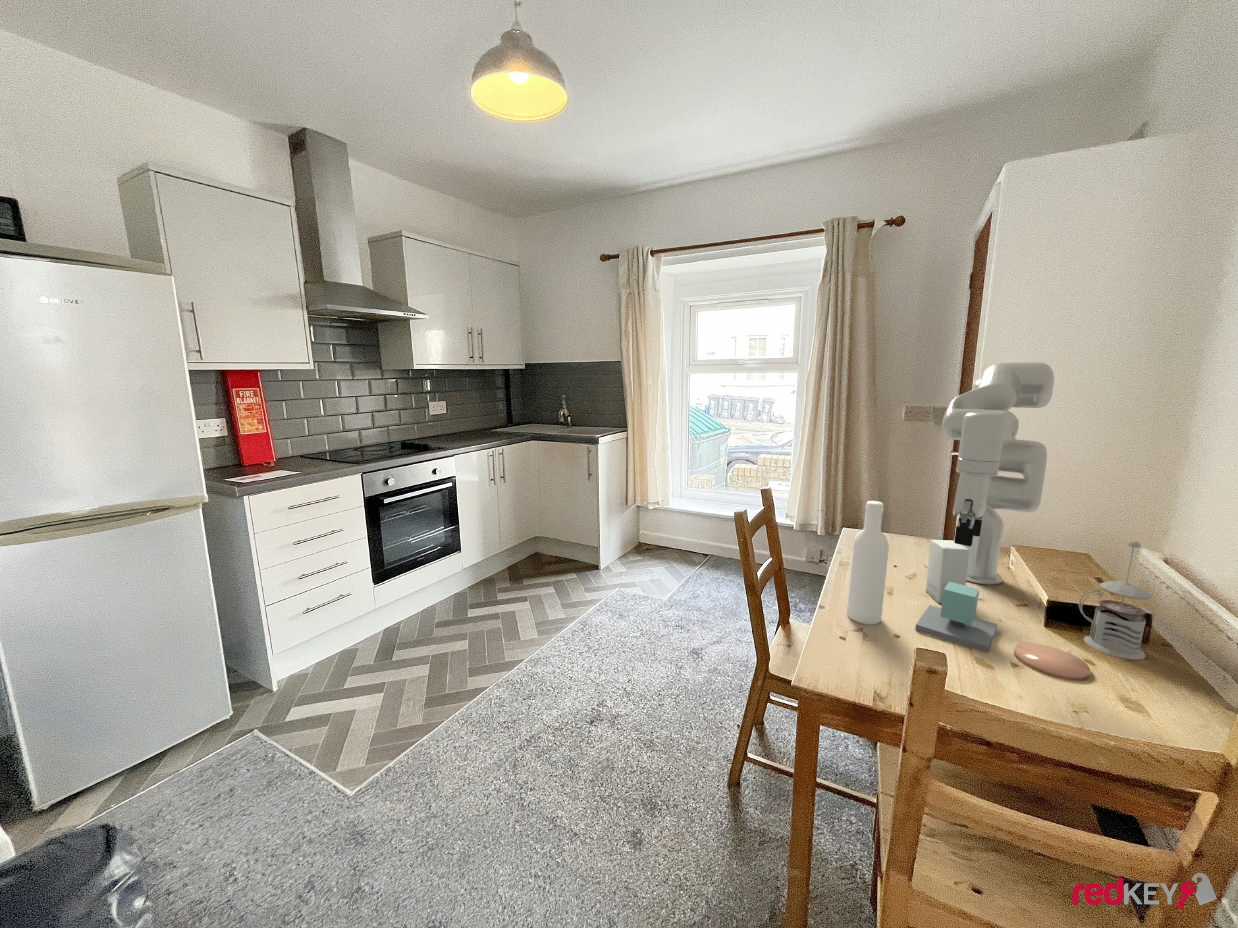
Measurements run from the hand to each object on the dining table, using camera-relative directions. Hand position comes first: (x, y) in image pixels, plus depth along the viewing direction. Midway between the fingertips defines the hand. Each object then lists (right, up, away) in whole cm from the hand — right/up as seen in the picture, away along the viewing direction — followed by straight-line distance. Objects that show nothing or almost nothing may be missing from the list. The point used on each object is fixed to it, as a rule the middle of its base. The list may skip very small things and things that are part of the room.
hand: (967, 539), depth 110 cm
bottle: (-19, -22, +10) cm, 30 cm away
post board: (+1, -22, +4) cm, 23 cm away
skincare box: (+9, -20, +21) cm, 30 cm away
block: (+1, -19, +4) cm, 19 cm away
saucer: (+11, -25, -9) cm, 29 cm away
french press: (+30, -24, -2) cm, 39 cm away
